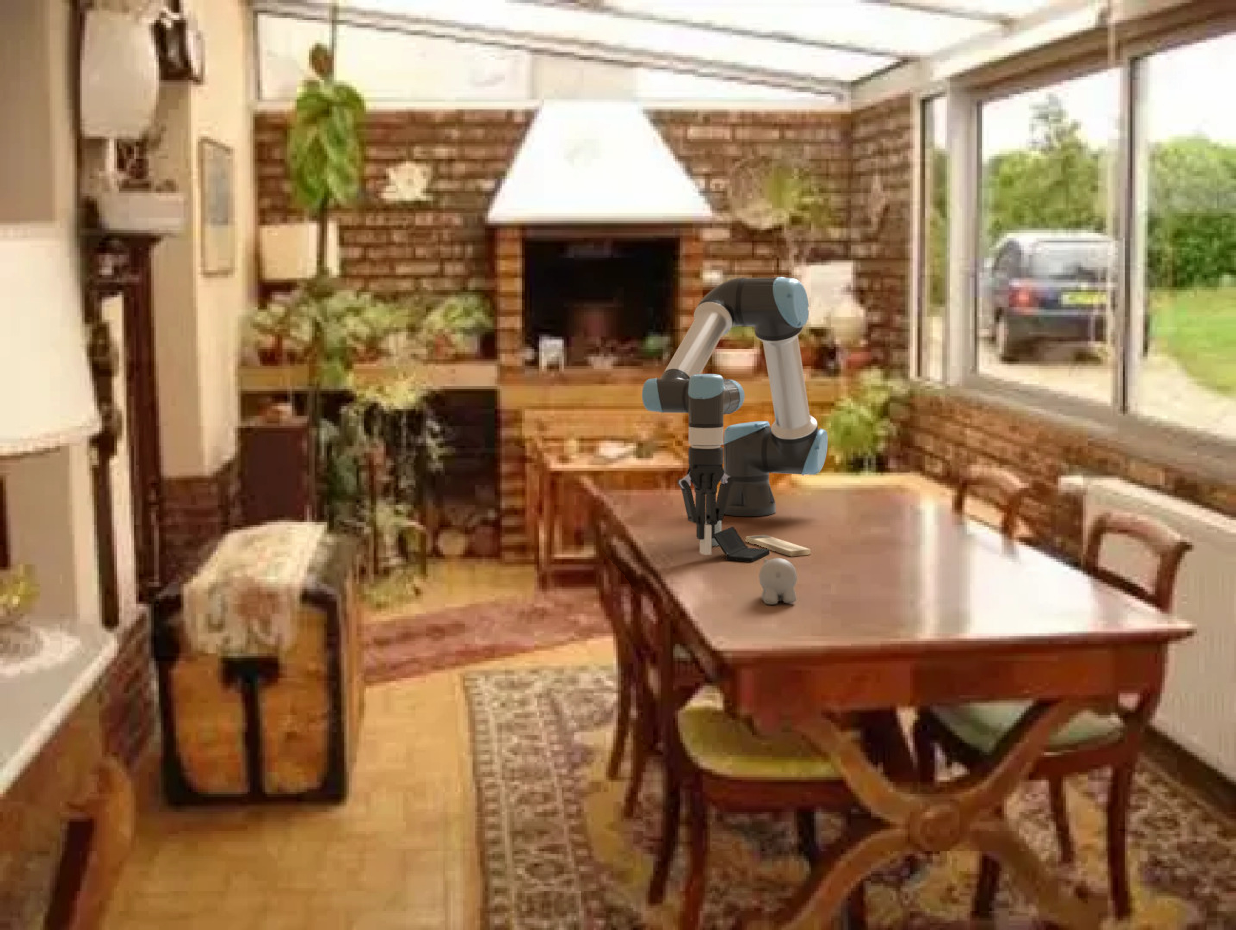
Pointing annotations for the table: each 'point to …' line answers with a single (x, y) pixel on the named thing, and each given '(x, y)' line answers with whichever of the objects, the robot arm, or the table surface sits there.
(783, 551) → the batten
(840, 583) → the table surface
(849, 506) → the table surface
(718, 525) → the grey bottle
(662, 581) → the table surface
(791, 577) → the toy rhinoceros
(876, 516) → the table surface
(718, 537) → the handheld gaming console
